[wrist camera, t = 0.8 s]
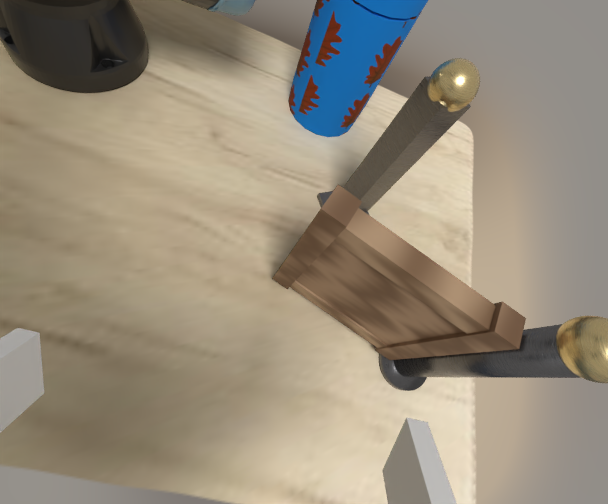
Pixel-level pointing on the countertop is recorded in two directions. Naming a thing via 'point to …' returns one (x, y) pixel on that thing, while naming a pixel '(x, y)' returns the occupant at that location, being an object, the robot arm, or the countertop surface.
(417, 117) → the post
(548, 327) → the hinge post
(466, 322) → the walnut gate
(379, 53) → the thermos
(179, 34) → the countertop surface
